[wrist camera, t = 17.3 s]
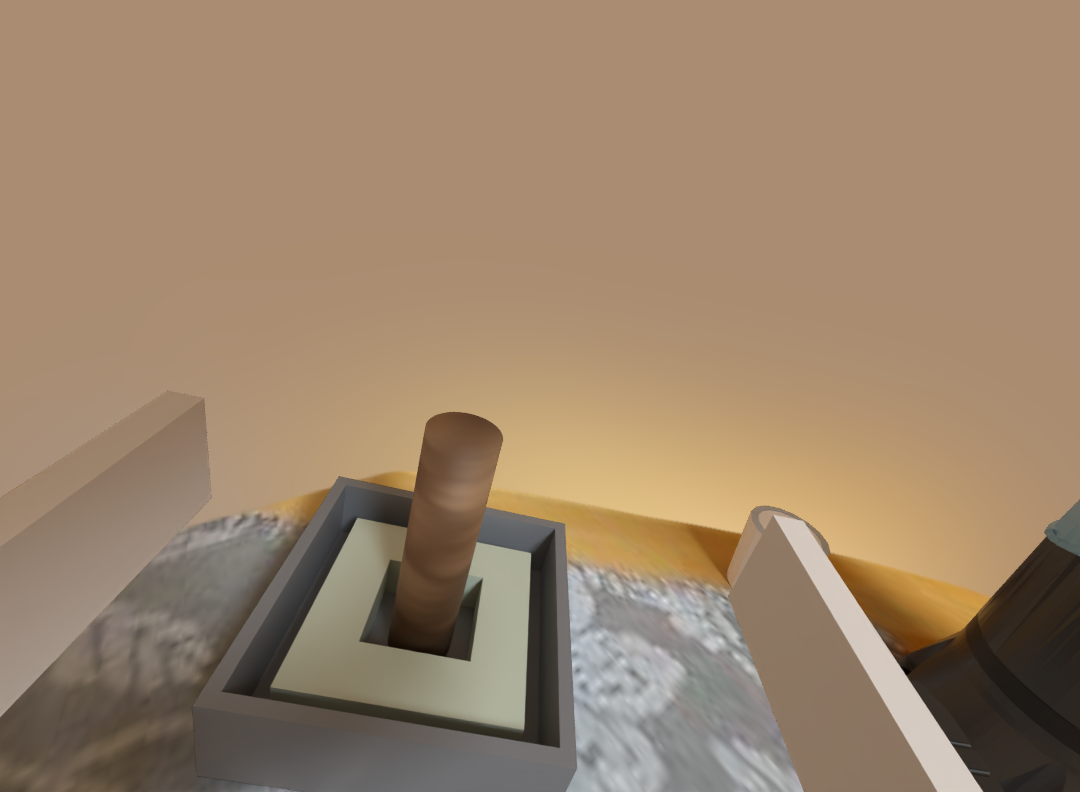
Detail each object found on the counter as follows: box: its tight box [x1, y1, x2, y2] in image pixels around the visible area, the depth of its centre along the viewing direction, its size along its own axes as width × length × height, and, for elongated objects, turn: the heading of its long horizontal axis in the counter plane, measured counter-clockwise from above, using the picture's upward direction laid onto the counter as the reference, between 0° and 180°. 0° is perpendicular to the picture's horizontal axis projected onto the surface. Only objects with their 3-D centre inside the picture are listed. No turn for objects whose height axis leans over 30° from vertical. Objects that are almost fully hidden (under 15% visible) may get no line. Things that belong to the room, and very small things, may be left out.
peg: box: [388, 412, 503, 657], centre depth 30 cm, size 4×4×16 cm
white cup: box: [727, 506, 830, 588], centre depth 46 cm, size 7×7×7 cm
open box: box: [192, 476, 577, 792], centre depth 32 cm, size 18×18×6 cm
